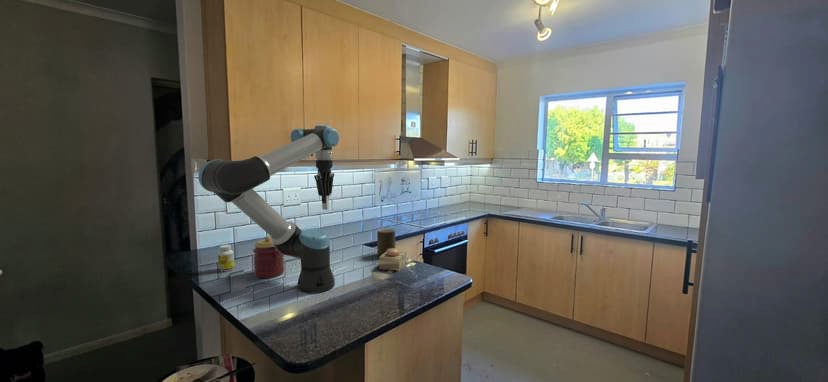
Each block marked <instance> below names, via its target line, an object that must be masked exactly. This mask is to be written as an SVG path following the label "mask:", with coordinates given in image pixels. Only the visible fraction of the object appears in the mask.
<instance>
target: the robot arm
mask: <svg viewBox="0 0 828 382" xmlns="http://www.w3.org/2000/svg"><path fill="white" fill-rule="evenodd" d="M290 141H291V142H290V143H287V144H285V145H283V146H281V147H279V148H277V149H273V150H272V151H270V152H268V153H266V154H265V153H264V154H263V155H261V156H258V155H254V156H251V157H249V158H247V159H241V160H240V159H239V160H224V159H212V160H209V161H207V162H205V163H204V164H203V165H202V166H201V167H200V169H199V170H198V182H199V184H200V186H201V187H202V188H203V189H204V190H205V191H207V192H211V193H214V194H215V195H216V196H217V197H218V198H220V199H221V200H222V201H223V202H225V203H232V204H233V205H234V206H235V207H237V208H238V210H240V211H241V212H242V213H243V214H244V215H245V216H247V217H248V218H249V219H250V220H251V221H253V222H254V223H255V224H256V225H257V226H258V227H260V228H261V229H262V230H263V231H264V232H265V233H267V234H268V235H269V237H270V238H271V239H272V243H273V244H274V246H275V248H276V249H277V251H279V252H280V253H282V254H283V256H287V257H292V258H296V259H298V260H300V273H299V277H298V280H297V282H296V283H297V284H296V285H297V291H299V292H301V293H304V294H320V293H324V292H326V291H329V290H331V289H333V288H334V287H335V285H336V279H335V276H334V274H333V271H332V268H331V259H330V258H331V251H330V250H331V249H330V246H331V245H330V237H329V233H328V232H327V231H325V230H323V229H319V228H317V229H316V228H307V229H304V230H303V229H301V228H299V226H298V225H297V224H295V222H292V221H287V220H286V219H285V218H284V217H283V216H282V215H280V213H279V212H278V211H276V210H275V209H274V208H273V206H271V205H270V204H269V203H268V202H267V201H266V200H265V199H264V198H263V197H262V196H261V195H260V194H258V192H257V191H256V190H255V188H257V187H258V186H260V185H262V184H265V183H266V182H269V181H270V179H271V177H272V176H274V175H275V174H277V173H279V172H281V171H283V170H285V169H287V168H289V167H291V166H293V165H295V164H296V163H298V162H301V161H302V160H304V159H306V158H308V157H310V156H312V155H315V159H316V160H315V167H316V168H317V174H316V175H315V174H314V180H315V184H316V190H317V194H318V196H319V197H321V205H322V210H324V211H328V210H330V196H332V193H333V187H334V186H333V184H334V178H335V173H334V172H333V173H332V169H331V168H333V148H334V147H336V146H338V144H339V142H340V135H339V132H338V131H337V130H336V129H334V128H332V127H331V126H330V125H315V126H314V128H307V129H305V128H295V129H293V130H292V131H291V133H290Z"/></svg>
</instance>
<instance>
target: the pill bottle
mask: <svg viewBox="0 0 828 382" xmlns="http://www.w3.org/2000/svg"><path fill="white" fill-rule="evenodd" d="M219 250H220V251H219V252H218V253H217V257H218V270H219V271H220V272H223V271H225V272H230V270H231V271H233V270H234V269H235V254H234V252H235V251H233V250H232V245H231V244H223V245H220V246H219Z"/></svg>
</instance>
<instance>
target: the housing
mask: <svg viewBox="0 0 828 382" xmlns="http://www.w3.org/2000/svg"><path fill="white" fill-rule="evenodd" d="M378 258H379V259H378V261H379V270H385V269H389V270H388V271H393V270H396V271H395V272H400V271H401V270H402V269H403V268H404V267H405V266H406V265H407V252H404V251H400V254H399V255H398V256H396V257H395V256H387V255H386V252H385V253H384V254H382V255H381V256H380V257H379V256H378Z"/></svg>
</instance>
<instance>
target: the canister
mask: <svg viewBox="0 0 828 382" xmlns="http://www.w3.org/2000/svg"><path fill="white" fill-rule="evenodd" d="M253 246H254V248H253V250H252V253H253V257H252V259H253V268H254V269H253V273H254V277H256V278H259V279H272V278H275V277H276V278H277V277H279V276H281V275H283V274H284V272H285V264H284V263H285V260H284V255H283V254H282V253H280V252H279V251H277V249H276V248H275V246H274V244H273V243H272V237H271V236H270V235H269V236H267V235H266V236H265V237H264V239H261V240H258V241H257V242H256V243H254V245H253Z"/></svg>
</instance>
